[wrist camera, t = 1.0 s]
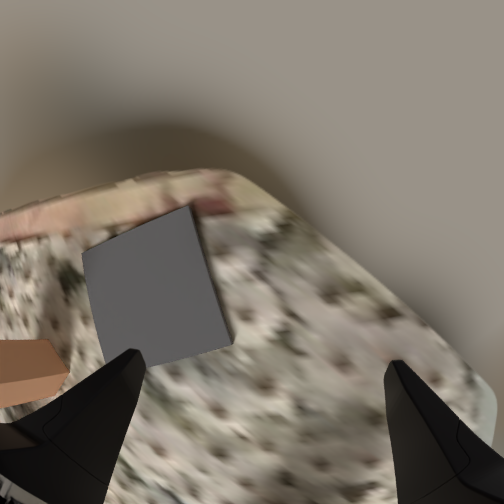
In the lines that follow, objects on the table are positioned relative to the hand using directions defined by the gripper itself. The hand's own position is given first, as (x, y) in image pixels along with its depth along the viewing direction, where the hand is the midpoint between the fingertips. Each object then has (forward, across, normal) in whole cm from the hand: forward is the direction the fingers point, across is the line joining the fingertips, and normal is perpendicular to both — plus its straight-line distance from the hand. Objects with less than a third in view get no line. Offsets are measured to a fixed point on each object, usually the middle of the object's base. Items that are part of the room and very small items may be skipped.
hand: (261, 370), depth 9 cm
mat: (+13, +12, +7) cm, 19 cm away
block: (+7, +26, +15) cm, 30 cm away
